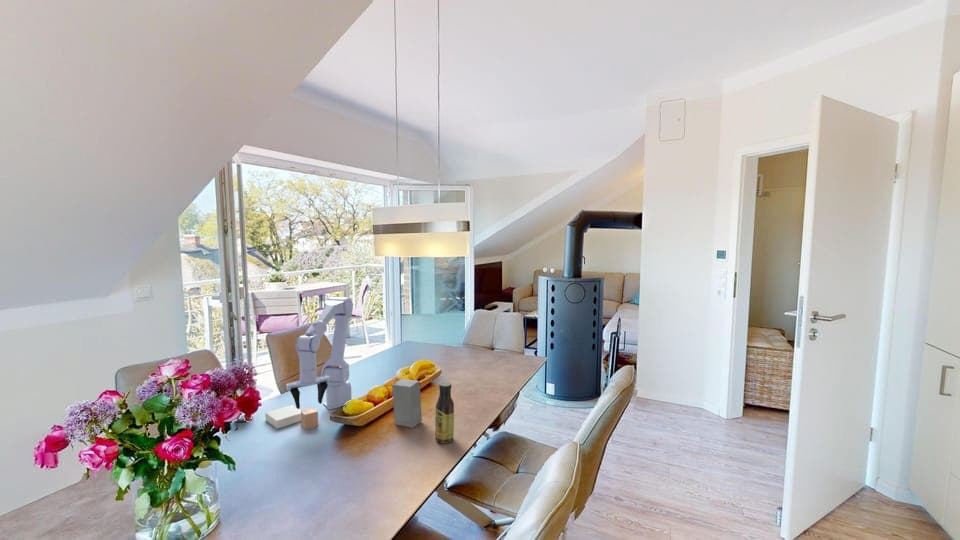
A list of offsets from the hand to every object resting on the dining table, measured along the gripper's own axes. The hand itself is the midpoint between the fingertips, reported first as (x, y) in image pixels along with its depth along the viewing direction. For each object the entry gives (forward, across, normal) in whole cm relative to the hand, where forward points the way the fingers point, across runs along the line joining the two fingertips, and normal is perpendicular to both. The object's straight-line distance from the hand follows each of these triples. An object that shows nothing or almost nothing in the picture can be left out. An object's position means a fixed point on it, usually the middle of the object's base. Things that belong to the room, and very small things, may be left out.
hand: (309, 405), depth 149 cm
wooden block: (+8, 0, 0) cm, 8 cm away
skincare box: (+8, +29, -20) cm, 36 cm away
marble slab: (+8, -6, +10) cm, 14 cm away
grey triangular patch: (+8, -18, +20) cm, 28 cm away
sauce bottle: (+8, +33, -39) cm, 52 cm away
